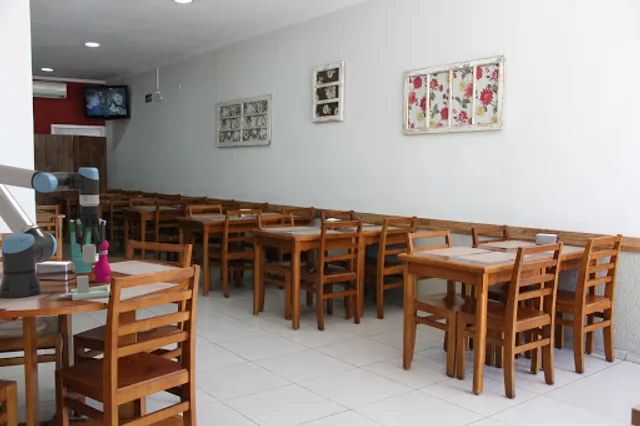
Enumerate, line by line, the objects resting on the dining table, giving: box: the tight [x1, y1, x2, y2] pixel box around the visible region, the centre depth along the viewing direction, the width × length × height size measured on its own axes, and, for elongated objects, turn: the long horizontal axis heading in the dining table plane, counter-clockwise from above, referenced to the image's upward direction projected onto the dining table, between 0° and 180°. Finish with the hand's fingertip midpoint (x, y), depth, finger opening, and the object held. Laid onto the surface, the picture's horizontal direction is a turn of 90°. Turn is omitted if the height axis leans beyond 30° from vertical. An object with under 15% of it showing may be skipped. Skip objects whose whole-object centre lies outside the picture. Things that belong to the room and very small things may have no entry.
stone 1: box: [76, 275, 90, 294], centre depth 232 cm, size 4×4×7 cm
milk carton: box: [69, 219, 93, 274], centre depth 285 cm, size 9×9×25 cm
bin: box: [70, 285, 111, 301], centre depth 234 cm, size 14×11×2 cm
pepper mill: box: [93, 239, 112, 283], centre depth 262 cm, size 7×7×20 cm
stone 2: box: [84, 243, 97, 264], centre depth 248 cm, size 4×4×7 cm
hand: (90, 260), depth 248 cm, fingers closed on stone 2, 4 cm apart
